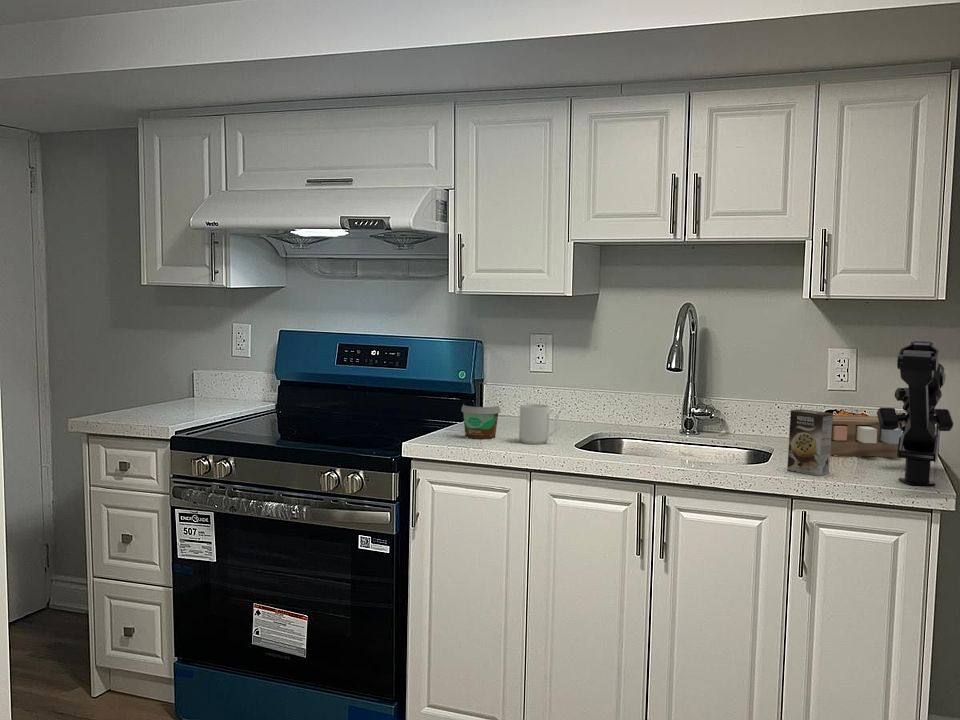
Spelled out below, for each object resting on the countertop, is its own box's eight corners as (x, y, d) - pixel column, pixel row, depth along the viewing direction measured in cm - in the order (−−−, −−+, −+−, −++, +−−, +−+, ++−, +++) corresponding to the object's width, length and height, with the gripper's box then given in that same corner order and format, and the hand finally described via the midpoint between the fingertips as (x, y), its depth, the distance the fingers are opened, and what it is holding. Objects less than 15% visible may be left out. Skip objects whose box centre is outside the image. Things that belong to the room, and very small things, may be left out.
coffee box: (786, 470, 249) (789, 410, 248) (797, 468, 253) (800, 408, 252) (819, 476, 242) (822, 414, 241) (830, 473, 247) (833, 412, 246)
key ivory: (876, 443, 268) (877, 429, 268) (864, 443, 268) (865, 429, 268) (867, 439, 274) (868, 426, 274) (855, 439, 274) (856, 425, 274)
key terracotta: (846, 440, 272) (847, 426, 271) (834, 440, 272) (835, 426, 271) (838, 437, 278) (839, 423, 277) (826, 437, 277) (827, 423, 277)
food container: (456, 438, 288) (457, 406, 287) (460, 435, 294) (461, 403, 293) (496, 440, 286) (497, 408, 285) (499, 437, 292) (500, 405, 291)
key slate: (900, 443, 268) (901, 429, 268) (888, 443, 268) (889, 429, 268) (891, 440, 274) (892, 426, 274) (879, 440, 274) (880, 426, 274)
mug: (514, 443, 283) (515, 406, 282) (525, 439, 291) (526, 403, 290) (552, 446, 278) (553, 409, 277) (562, 442, 286) (563, 406, 285)
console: (899, 457, 274) (901, 422, 273) (824, 455, 273) (826, 420, 272) (881, 450, 285) (883, 416, 285) (809, 448, 285) (810, 414, 284)
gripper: (951, 379, 254) (930, 414, 266) (881, 378, 255) (863, 412, 267) (963, 412, 247) (941, 447, 259) (891, 411, 248) (873, 445, 260)
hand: (904, 436), depth 261 cm, fingers closed
